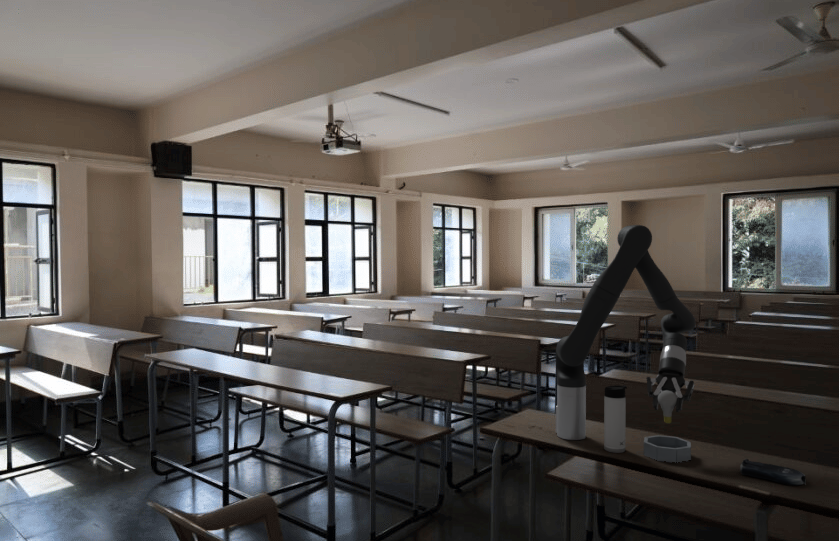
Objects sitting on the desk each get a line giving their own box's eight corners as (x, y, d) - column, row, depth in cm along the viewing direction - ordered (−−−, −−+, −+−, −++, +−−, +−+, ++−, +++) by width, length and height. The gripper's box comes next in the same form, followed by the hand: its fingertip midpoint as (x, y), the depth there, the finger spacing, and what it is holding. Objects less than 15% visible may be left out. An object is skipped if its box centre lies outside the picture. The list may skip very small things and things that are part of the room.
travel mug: (627, 453, 184) (628, 388, 184) (605, 452, 185) (605, 387, 185) (625, 447, 190) (625, 383, 190) (603, 446, 191) (603, 383, 191)
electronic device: (739, 482, 165) (804, 487, 155) (737, 461, 166) (801, 465, 156) (747, 477, 172) (809, 482, 162) (745, 457, 173) (806, 461, 163)
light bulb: (660, 420, 186) (660, 387, 186) (679, 422, 183) (679, 389, 183) (655, 424, 182) (655, 391, 182) (675, 427, 179) (674, 393, 178)
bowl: (634, 451, 186) (634, 438, 186) (667, 446, 191) (667, 433, 191) (666, 464, 174) (666, 450, 174) (700, 459, 179) (700, 445, 179)
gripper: (646, 354, 192) (639, 400, 182) (696, 357, 185) (691, 405, 175) (650, 368, 197) (643, 413, 187) (698, 372, 189) (693, 419, 179)
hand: (666, 409), depth 181 cm, fingers closed on light bulb, 5 cm apart
